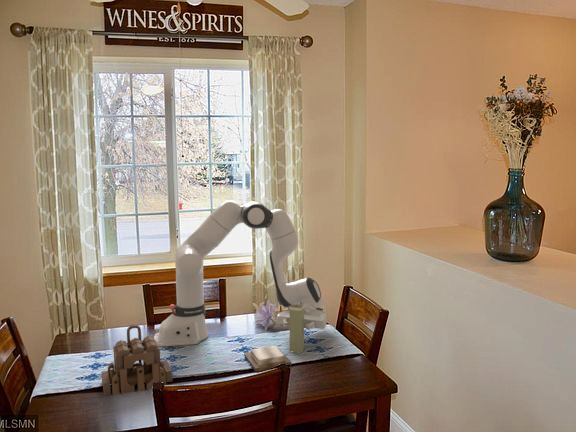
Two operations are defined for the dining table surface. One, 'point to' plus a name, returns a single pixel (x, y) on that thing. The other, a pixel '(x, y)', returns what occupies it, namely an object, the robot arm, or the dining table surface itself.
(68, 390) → the dining table surface
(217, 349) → the dining table surface
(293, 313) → the olive pillar
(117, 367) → the wooden puzzle
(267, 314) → the water lily
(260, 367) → the plinth
